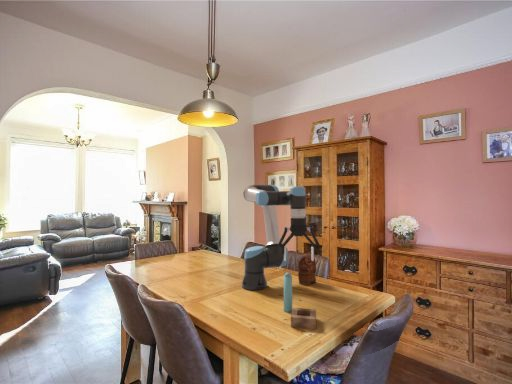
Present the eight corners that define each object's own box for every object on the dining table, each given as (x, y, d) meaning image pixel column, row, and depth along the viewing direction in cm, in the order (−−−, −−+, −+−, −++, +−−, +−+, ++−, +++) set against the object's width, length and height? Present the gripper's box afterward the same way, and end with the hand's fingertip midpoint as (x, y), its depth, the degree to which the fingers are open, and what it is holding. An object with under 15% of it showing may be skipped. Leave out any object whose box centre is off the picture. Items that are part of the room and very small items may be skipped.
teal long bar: (283, 311, 126) (282, 273, 127) (284, 308, 130) (284, 271, 131) (291, 312, 126) (291, 273, 126) (292, 309, 129) (292, 271, 130)
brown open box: (290, 326, 112) (290, 317, 112) (293, 316, 121) (293, 307, 121) (315, 329, 109) (315, 319, 109) (316, 318, 119) (316, 309, 119)
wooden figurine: (304, 286, 163) (304, 256, 164) (297, 283, 168) (296, 254, 169) (318, 282, 170) (317, 253, 170) (310, 280, 175) (310, 252, 175)
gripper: (273, 218, 132) (273, 262, 131) (325, 217, 131) (325, 261, 131) (272, 217, 140) (273, 258, 139) (321, 216, 139) (322, 258, 138)
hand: (298, 260), depth 135 cm, fingers open, 13 cm apart
